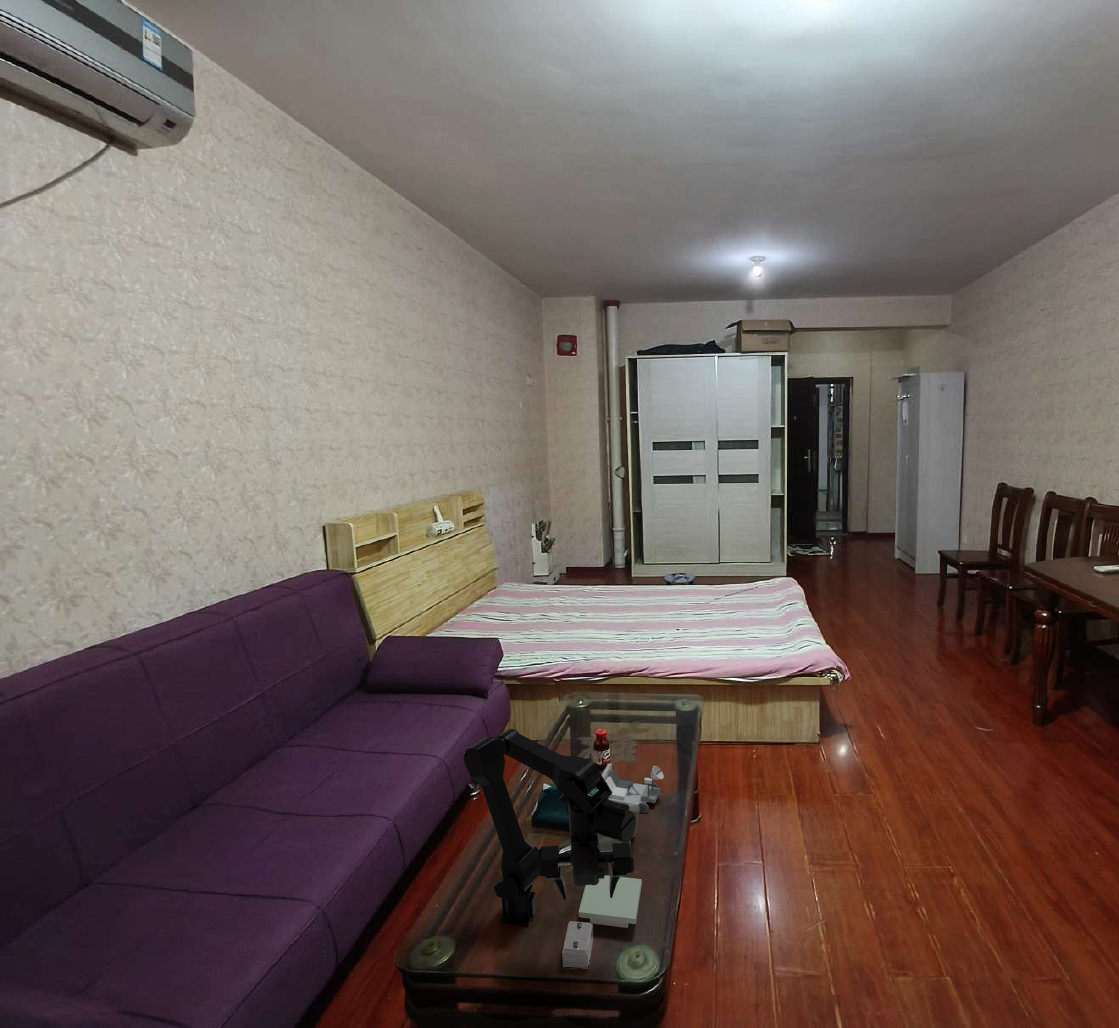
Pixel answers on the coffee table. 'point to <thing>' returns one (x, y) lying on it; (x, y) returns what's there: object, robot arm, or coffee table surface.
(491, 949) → the coffee table surface
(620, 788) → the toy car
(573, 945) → the block
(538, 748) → the robot arm
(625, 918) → the stand
